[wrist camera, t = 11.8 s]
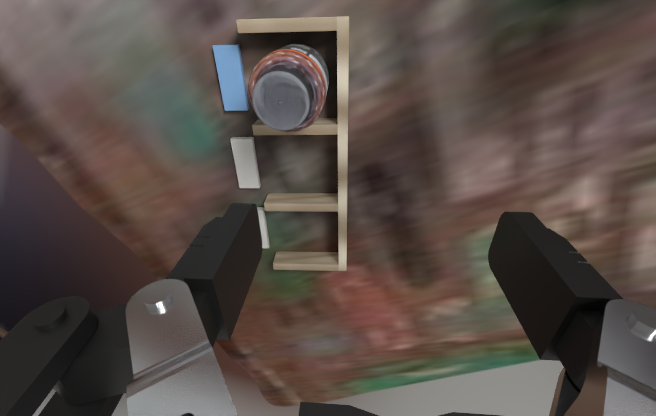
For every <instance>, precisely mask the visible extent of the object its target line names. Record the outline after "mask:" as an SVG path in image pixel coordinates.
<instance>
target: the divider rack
mask: <svg viewBox="0 0 656 416" xmlns="http://www.w3.org/2000/svg"><path fill="white" fill-rule="evenodd" d="M236 21H237V28H238V33H264V32H304V31H337V107H338V118H317V120H316V121H315V122H314V123H313V124H312V125H310V126H309V127H307V128H305V129H303V130H300V131H296V132H283V131H279V130H275V129H272V128H270V127H268V126H267V125H265V124H264V123H263V122H262V121H261V120H260V119H257V120H256V122H255V123H254V124H253V125H252V128H253V135H338V193H268V195H267V198H266V200H265V202H264V208H265V211H334V212H338V249H339V252H277V251H276V255H275V258H274V261H273V268H274V270H327V271H346V260H347V160H348V60H349V16H348V17H312V18H275V19H239V20H236Z"/></svg>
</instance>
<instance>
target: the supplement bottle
mask: <svg viewBox="0 0 656 416" xmlns="http://www.w3.org/2000/svg"><path fill="white" fill-rule="evenodd" d="M328 84H329V72H328V68H327V65H326V63H325V61H324V59H323V58H322V56H321V55H320V54H319V53H318V52H317V51H316V50H315V49H313V48H311V47H309V46H307V45H304V44H290V45H286V46H284V47H282V48H280V49H278V50H275V51H273V52H271V53H269V54H268V55H266V56H265V57H264V58H262V59H261V60H260V61H259V62H258V63H257V65H256V66H255V67H254V69H253V71H252V73H251V76H250V79H249V86H248V91H249V98H250V102H251V105H252V107H253V109H254V111H255V113H256V114H257V116H258V117H259V119H260V120H261V121H262V122H263V123H264V124H265V125H267V126H268V127H270V128H272V129H275V130H279V131H283V132H296V131H300V130H303V129H305V128H307V127H309V126H310V125H312V124H313V123H314V122H315V121H316V120H317V118H318V117H319V115H320V114H321V112H322V110H323V107H324V104H325V100H326V95H327V90H328Z"/></svg>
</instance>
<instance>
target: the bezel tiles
mask: <svg viewBox="0 0 656 416" xmlns="http://www.w3.org/2000/svg"><path fill="white" fill-rule="evenodd" d="M213 51H214V56H215V61H216V67H217V72H218V77H219V82H220V88H221V93H222V98H223V103H224V109H225V111H248V110H249V104H248V97H247V91H246V84H245V77H244V71H243V64H242V57H241V51H240V45H213ZM230 140H231V145H232V151H233V156H234V161H235V166H236V172H237V177H238V182H239V187H240V188H260V186H261V184H260V177H259V170H258V164H257V157H256V150H255V144H254V137H232V138H231V139H230ZM257 210H258V216H259V223H260V230H261V236H262V248H269V246H270V244H269V237H268V230H267V224H266V217H265V210H264V207H257Z"/></svg>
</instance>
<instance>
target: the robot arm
mask: <svg viewBox="0 0 656 416" xmlns="http://www.w3.org/2000/svg"><path fill="white" fill-rule="evenodd" d="M261 254H262V236H261V230H260V223H259V216H258V210H257V206H256V205H255V204H245V203H232V204H231V205H230V207H229V208H228V210H227V211H226V213H225V214H224V216H223V217H216V218H214V219H213V220H212V221H210V222H209V223H207V224H206V225H204V226H203V228H202V229H201V231H200V232H199V233H198V235H197V236H196V239H194V240H193V242H192V243H191V245H190V247H188V249H187V250H186V252H185V253H184V255H183V256H182V257H181V259H180V260H179V262H178V263H177V264H176V266H175V267H174V269H173V270H172V271H171V273H170V274H169V276H168V277H167V278H166V279H164V280H160V281H157V282H154V283H151V284H149V285H147V286H145V287H143V288H142V289H140V290H139V291H138V292H137V293H135V294H134V295H133V297H132V298H131V299H130V300H129V302H128V303H127V304H122V305H118V306H112V307H107V308H102V309H98V310H92V308H91V306H90V305H89V303H88V302H87V301H86V299H84V298H81V297H65V298H61V299H57V300H54V301H51V302H49V303H46V304H44V305H42V306H41V307H38V308H37V309H35V310H34V311H32V312H31V313H29V314H28V315H27V316H25V318H23V319H22V320H21V321H20V322H19V323H18V324H17V325H16V326H15V327H14V328H13V329H12V330H11V331H10V332H9V333H8V334H7V335H6V336H5V337H4V338H3V339H2V340H1V341H0V416H32V415H33V414H34V413H35V411H36V410H37V408H38V407H39V406H40V405H41V403H42V402H43V401H44V399H45V398H46V397H47V395H48V394H49V393H50V391H51V390H52V389H53V388H54V389H55V390H56V392H55V394H54V395H53V397H52V398H51V399H50V401H49V402H48V403H47V405H46V406H45V407H44V409H43V410H42V412H41V413H40V414H39V416H111V415H112V413H113V412H114V410H115V408H116V406H117V404H118V403H119V401H120V399H121V397H122V395H123V393H126V394H127V406H128V416H238V415H237V412H236V410H235V407H234V404H233V401H232V399H231V396H230V394H229V391H228V388H227V386H226V383H225V380H224V378H223V375H222V372H221V370H220V367H219V364H218V362H217V359H216V357H215V354H214V351H213V345H214V343H215V341H216V340H230V338H231V335H232V332H233V330H234V327H235V324H236V322H237V319H238V317H239V314H240V311H241V309H242V306H243V303H244V301H245V298H246V295H247V293H248V290H249V288H250V285H251V282H252V280H253V277H254V274H255V272H256V269H257V267H258V264H259V261H260V259H261ZM488 260H489V266H490V268H491V270H492V272H493V274H494V276H495V278H496V279H497V281H498V283H499V285H500V287H501V289H502V290H503V292H504V294H505V296H506V298H507V300H508V302H509V303H510V305H511V307H512V309H513V311H514V313H515V314H516V316H517V318H518V320H519V322H520V324H521V325H522V327H523V329H524V331H525V333H526V335H527V336H528V338H529V340H530V342H531V344H532V346H533V347H534V349H535V351H536V353H537V355H538V357H539V358H540V360H559V361H561V363H562V365H563V366H564V368H563V370H562V371H561V373H560V375H559V378H558V382H557V386H556V390H555V394H554V398H553V402H552V407H551V410H550V415H549V416H656V309H654V308H652V307H650V306H648V305H645V304H642V303H639V302H636V301H632V300H626V299H623V298H622V297H621V296H620V295H619V294H618V293H617V292H616V291H615V290H614V289H613V288H612V287H611V286H610V285H609V284H608V282H607V281H606V280H605V279H604V278H603V277H602V276H601V275H600V274H599V273H598V272H597V271H596V270H595V269H594V268H593V267H592V266H591V265H590V264H587V260H586V259H585V258H584V257H583V256H582V255H581V254H580V253H577V250H576V249H575V248H574V247H573V246H572V245H571V244H570V243H569V242H568V241H567V240H566V239H565V238H564V237H562V236H560V235H559V234H557V233H556V232H554V231H552V230H551V229H547V228H546V227H545V226H544V225H543V223H542V222H541V221H540V220H539V219H538V218H537V217H536V216H535V215H534V214H533V213H530V212H504V213H503V214H502V215H501V217H500V219H499V222H498V225H497V228H496V231H495V234H494V237H493V240H492V243H491V246H490V249H489V253H488ZM299 416H378V415H375V414H372V413H369V412H367V411H364V410H361V409H358V408H356V407H353V406H350V405H337V404H323V403H309V402H300V410H299ZM440 416H498V415H484V414H469V413H455V412H452V413H448V414H444V415H440Z"/></svg>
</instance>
